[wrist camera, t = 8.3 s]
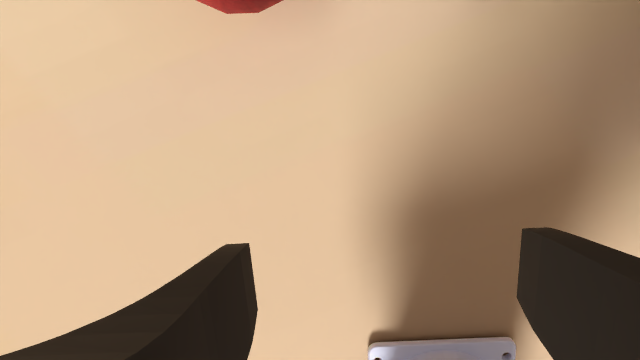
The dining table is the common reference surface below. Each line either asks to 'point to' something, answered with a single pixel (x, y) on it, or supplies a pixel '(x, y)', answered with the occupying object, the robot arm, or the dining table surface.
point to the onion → (240, 5)
